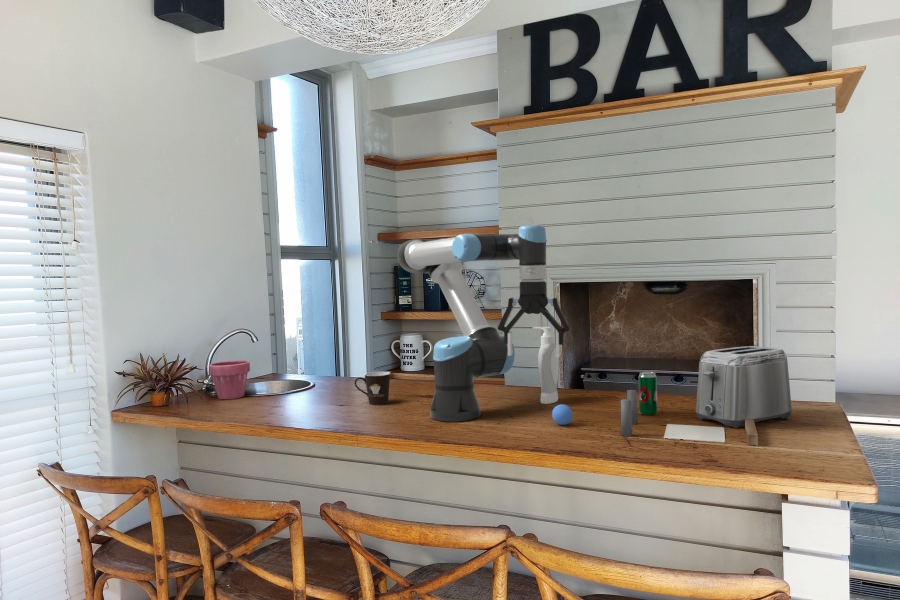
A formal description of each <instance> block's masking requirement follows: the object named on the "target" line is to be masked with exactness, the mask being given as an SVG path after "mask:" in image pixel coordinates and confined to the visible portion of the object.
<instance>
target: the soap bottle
mask: <svg viewBox="0 0 900 600" xmlns="http://www.w3.org/2000/svg"><path fill="white" fill-rule="evenodd" d="M531 328H532V329H534V330H535V329H537V330H538V329H539V330H542V331H543V332H544V333H542V335H541V336H540V347H539V349H538V350H539V351H538V354H537V366H538V375H539V377H538V378H539V381H540V389H541V391H540V403H541V404H542V405H551V404H554V403H557V402H558V401H559V395H558V394H559V393H558V389H557V387H558V386H557V385H558V379H559V357H556V338H555V335H553V332H552V331H551V328H552V327H551V326H532V327H531Z"/></svg>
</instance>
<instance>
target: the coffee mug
mask: <svg viewBox="0 0 900 600" xmlns="http://www.w3.org/2000/svg"><path fill="white" fill-rule="evenodd" d="M358 380H361V381H363V382H364V384H365V386H366V391H367V392H366V391H364V390H363V389H361V388H360V387H359V386H358V384H357V381H358ZM390 381H391V372H390V371H371V372H366V373H364V377H357V378H356V379H355V380H354V387H355V388H356V389H357V390H358V391H359V392H361V393H363V394H364V395H366V396H367V398H368V403H369V404H368V405H371V406H382V405H386V404H389V398H390V397H389V394H390V383H391V382H390Z"/></svg>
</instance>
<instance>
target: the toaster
mask: <svg viewBox="0 0 900 600" xmlns="http://www.w3.org/2000/svg"><path fill="white" fill-rule="evenodd" d="M788 361H789V360H788V356H787V354H786V352H785V350H784V349H782V348H776V347H766V346H755V345H754V346H753V345H749V346H747V345H746V346H737V347H728V348H720V349H713V350H708V351H705V352H703V354H702V355H701V357H700V359H699V364H698V377H697V390H696V391H697V392H696V406H695V413H696V416H697V418H698V419H699V420H700V421H705V420H713V421H716V422H719V423H721V424H722V425H724V426H725V427H728V428H729V427H730V428H734V429H738V428H741V427H744V428H745V419H754V423H757V422H761V421H765V420H771V419H777V418H778V419H779V420H785V418H787V419H789V418H790V417H791V414H792V410H793V409H792V408H793V407H792V398H791V397H792V396H791V387H790V377H789V376H790V375H789V363H788Z"/></svg>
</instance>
